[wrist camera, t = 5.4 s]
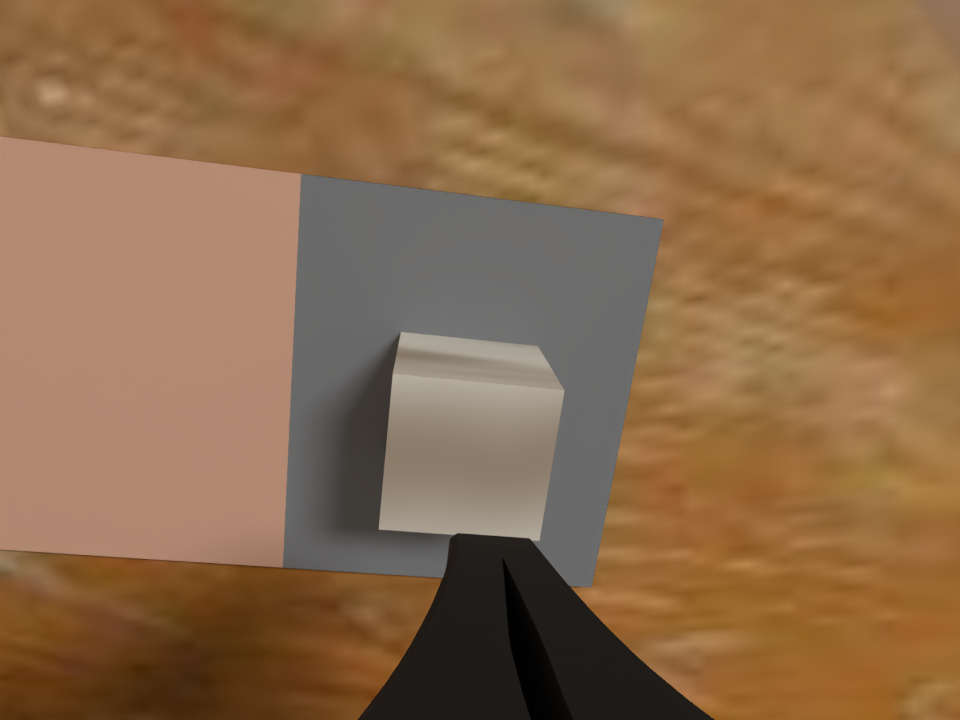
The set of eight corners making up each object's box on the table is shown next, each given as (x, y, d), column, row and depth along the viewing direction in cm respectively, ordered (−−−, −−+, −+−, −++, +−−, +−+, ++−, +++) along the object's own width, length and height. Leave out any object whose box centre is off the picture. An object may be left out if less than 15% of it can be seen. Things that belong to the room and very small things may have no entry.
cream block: (519, 470, 20) (539, 541, 16) (388, 459, 20) (378, 529, 16) (538, 345, 19) (564, 390, 15) (401, 331, 19) (392, 374, 15)
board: (587, 578, 22) (591, 587, 21) (-117, 531, 20) (-131, 540, 19) (657, 218, 19) (663, 220, 18) (-177, 113, 16) (-196, 112, 16)
